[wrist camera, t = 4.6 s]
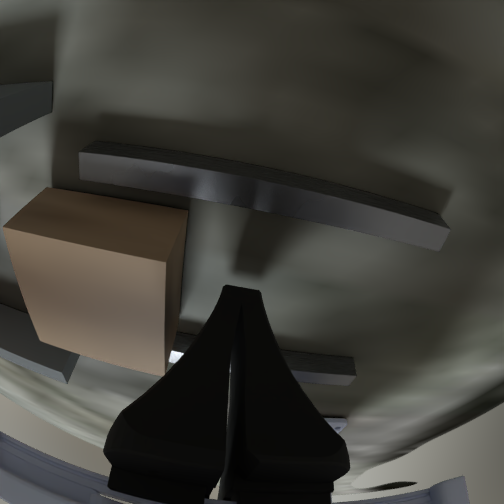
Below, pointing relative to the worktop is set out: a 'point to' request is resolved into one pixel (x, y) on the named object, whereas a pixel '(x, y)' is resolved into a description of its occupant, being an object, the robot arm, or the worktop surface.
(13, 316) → the tray
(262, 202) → the rails
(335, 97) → the worktop surface
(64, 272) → the brown square block
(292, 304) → the worktop surface
